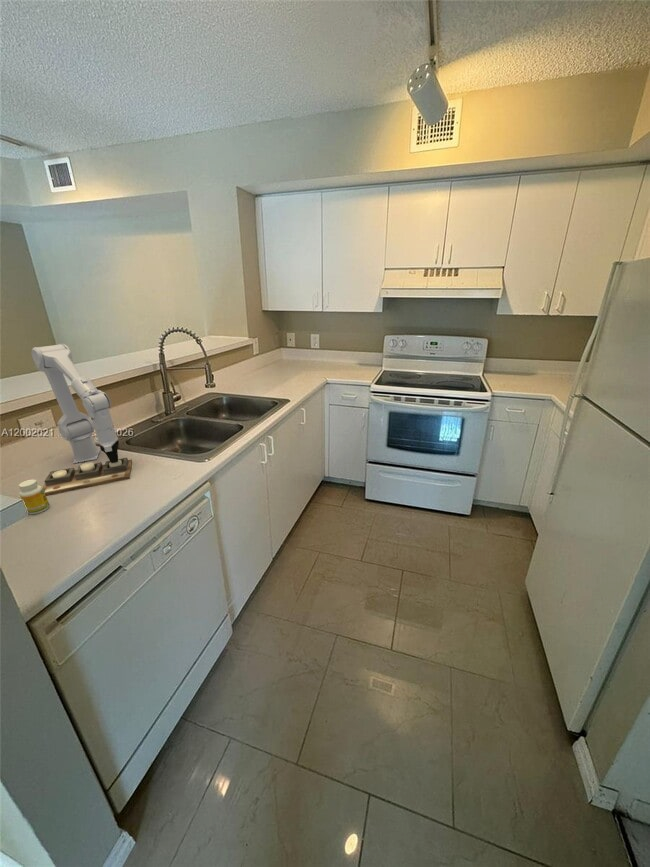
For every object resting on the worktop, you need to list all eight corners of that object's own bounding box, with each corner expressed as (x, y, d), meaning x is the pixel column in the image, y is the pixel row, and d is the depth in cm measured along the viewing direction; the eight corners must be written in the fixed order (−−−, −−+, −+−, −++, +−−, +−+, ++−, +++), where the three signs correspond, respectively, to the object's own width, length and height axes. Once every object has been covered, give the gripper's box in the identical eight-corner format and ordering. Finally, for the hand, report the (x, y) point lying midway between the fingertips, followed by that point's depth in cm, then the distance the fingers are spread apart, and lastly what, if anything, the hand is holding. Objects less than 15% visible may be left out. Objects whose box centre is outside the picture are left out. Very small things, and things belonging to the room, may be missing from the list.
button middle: (83, 469, 120) (81, 463, 119) (96, 466, 121) (94, 461, 120) (81, 474, 117) (79, 468, 116) (94, 471, 118) (92, 466, 117)
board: (51, 476, 120) (48, 469, 118) (132, 461, 129) (130, 454, 128) (39, 497, 108) (35, 489, 107) (129, 478, 118) (127, 471, 116)
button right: (111, 466, 123) (109, 461, 123) (123, 464, 125) (121, 458, 124) (109, 471, 120) (108, 466, 119) (122, 469, 122) (120, 463, 121)
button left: (56, 477, 117) (53, 471, 116) (69, 474, 119) (67, 468, 118) (52, 482, 114) (50, 476, 113) (66, 480, 115) (64, 474, 114)
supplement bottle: (26, 509, 102) (14, 483, 98) (48, 502, 105) (37, 476, 102) (29, 517, 99) (17, 489, 95) (51, 508, 102) (40, 482, 98)
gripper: (92, 423, 120) (102, 456, 125) (89, 437, 108) (101, 473, 114) (114, 419, 123) (124, 451, 129) (114, 432, 112) (124, 467, 117)
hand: (114, 461), depth 121 cm, fingers closed
